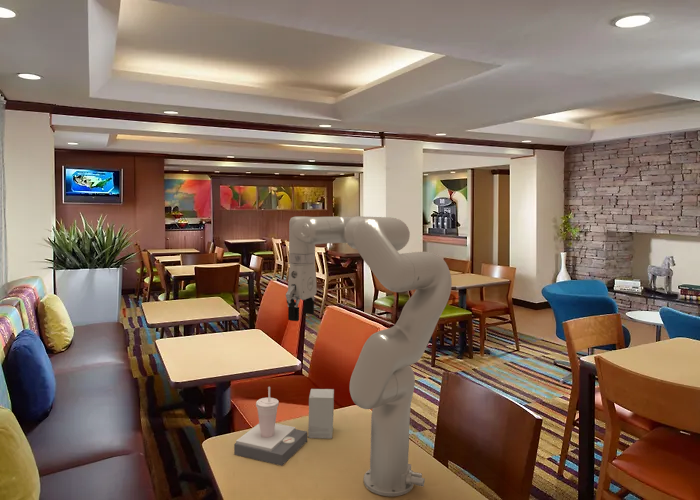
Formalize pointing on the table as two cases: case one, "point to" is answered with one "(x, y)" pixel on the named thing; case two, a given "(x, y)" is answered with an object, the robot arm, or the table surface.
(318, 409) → the supplement box
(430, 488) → the table surface
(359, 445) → the table surface
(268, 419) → the smoothie
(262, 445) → the scale
